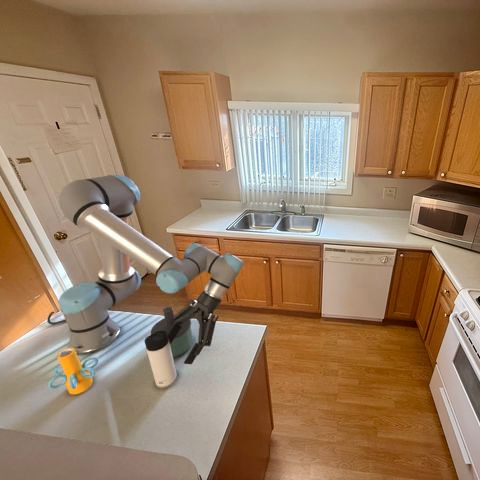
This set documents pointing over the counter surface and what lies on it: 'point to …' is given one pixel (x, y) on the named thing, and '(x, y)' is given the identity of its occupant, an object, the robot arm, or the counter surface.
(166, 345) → the travel mug
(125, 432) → the counter surface
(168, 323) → the lid
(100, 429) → the counter surface
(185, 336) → the cup
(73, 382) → the orange toy with loops
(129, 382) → the counter surface
